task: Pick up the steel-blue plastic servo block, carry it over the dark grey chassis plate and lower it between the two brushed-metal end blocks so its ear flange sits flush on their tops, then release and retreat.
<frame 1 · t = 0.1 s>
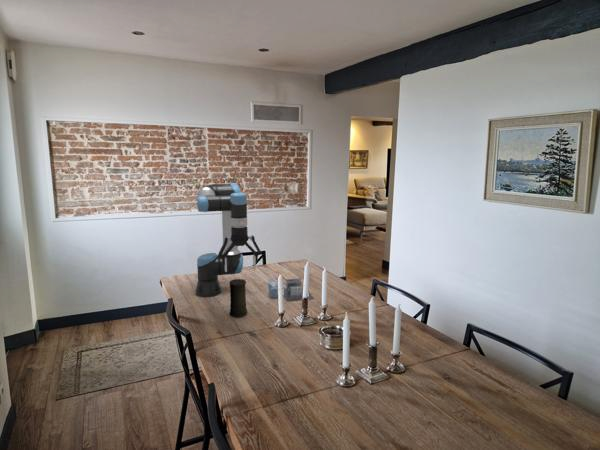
hand: (240, 270, 187), 28 cm above the table, fingers open, 13 cm apart
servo: (272, 296, 230), on the table
container: (238, 314, 205), on the table
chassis: (295, 294, 234), on the table
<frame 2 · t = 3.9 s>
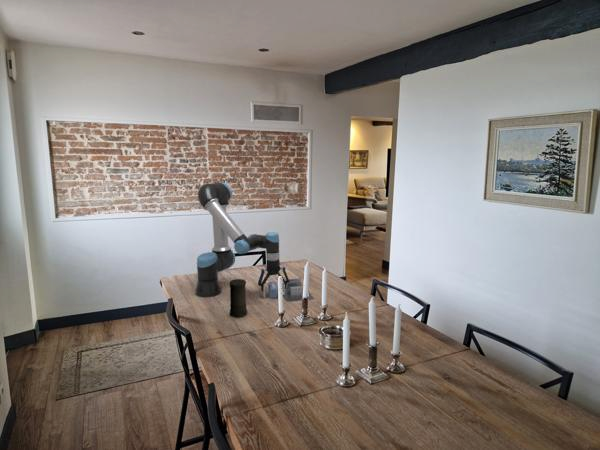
hand: (274, 295, 230), 1 cm above the table, fingers open, 11 cm apart
nothing on the table moved.
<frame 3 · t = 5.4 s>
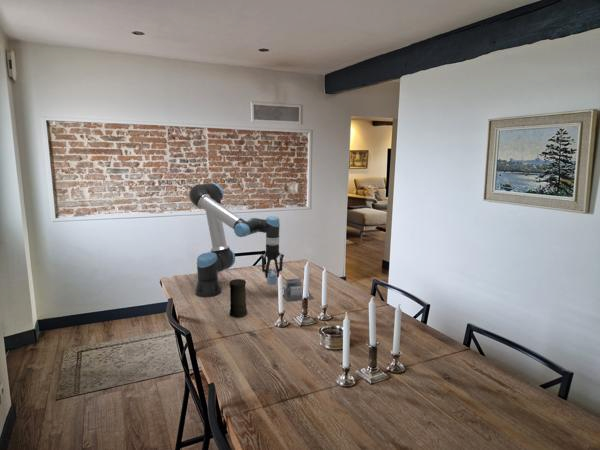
hand: (271, 282, 229), 8 cm above the table, fingers closed on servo, 4 cm apart
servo: (271, 283, 229), point 8 cm above the table, touching gripper
everything else where it was.
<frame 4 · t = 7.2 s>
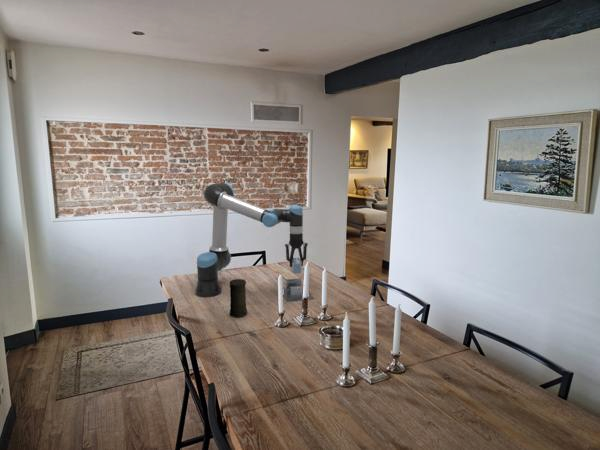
hand: (296, 271, 231), 14 cm above the table, fingers closed on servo, 4 cm apart
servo: (296, 272, 231), point 14 cm above the table, touching gripper
everything else where it was.
when the fingers open (1 cm above the table, at t = 9.1 s): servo stays where it is, resting on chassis.
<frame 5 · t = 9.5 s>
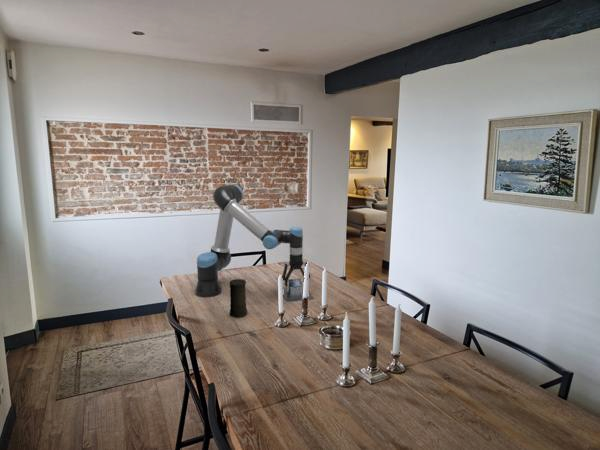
hand: (296, 290, 233), 2 cm above the table, fingers open, 9 cm apart
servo: (295, 293, 234), resting on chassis
everything else where it was.
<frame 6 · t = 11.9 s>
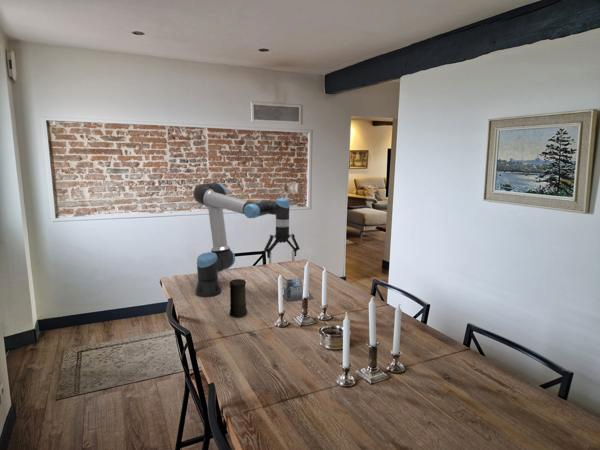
hand: (281, 262, 224), 21 cm above the table, fingers open, 13 cm apart
nothing on the table moved.
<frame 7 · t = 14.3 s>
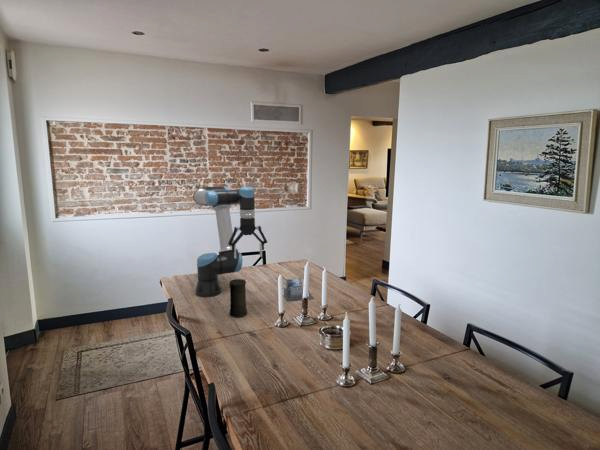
hand: (248, 257, 207), 29 cm above the table, fingers open, 13 cm apart
nothing on the table moved.
at the end: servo 0.0 cm off-centre on the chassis, point 0.5 cm above the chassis's base; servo tilted 0°; the gripper is holding nothing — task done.
